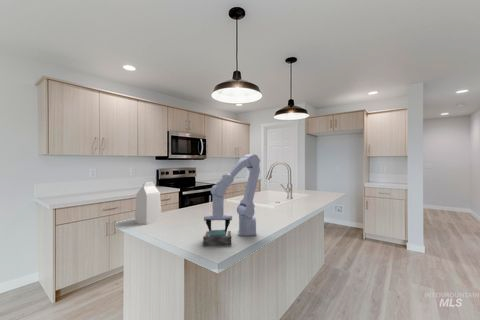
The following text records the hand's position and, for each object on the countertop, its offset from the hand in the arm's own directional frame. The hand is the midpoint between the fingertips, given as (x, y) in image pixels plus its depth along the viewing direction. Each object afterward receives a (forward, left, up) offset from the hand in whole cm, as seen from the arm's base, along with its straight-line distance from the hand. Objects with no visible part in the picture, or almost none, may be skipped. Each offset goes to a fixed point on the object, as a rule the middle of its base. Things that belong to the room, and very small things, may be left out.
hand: (218, 234), depth 115 cm
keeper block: (0, +4, -2) cm, 5 cm away
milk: (+47, -35, -3) cm, 59 cm away
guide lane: (0, +1, -2) cm, 2 cm away
